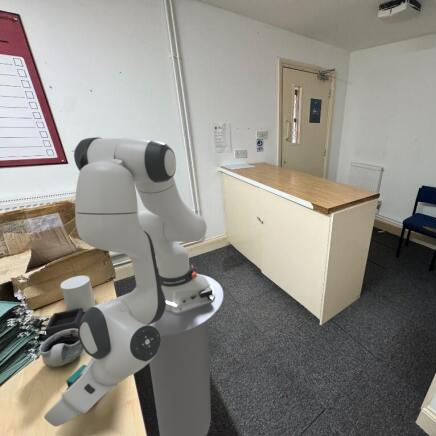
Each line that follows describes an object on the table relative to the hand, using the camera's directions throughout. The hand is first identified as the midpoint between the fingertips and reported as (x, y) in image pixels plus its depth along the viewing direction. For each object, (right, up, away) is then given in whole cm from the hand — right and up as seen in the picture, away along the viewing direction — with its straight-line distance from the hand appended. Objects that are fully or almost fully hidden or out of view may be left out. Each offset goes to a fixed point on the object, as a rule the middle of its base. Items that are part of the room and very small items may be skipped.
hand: (83, 384), depth 61 cm
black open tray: (-25, +5, +21) cm, 33 cm away
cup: (-27, +8, +30) cm, 42 cm away
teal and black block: (0, -5, +2) cm, 5 cm away
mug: (-14, 0, +10) cm, 17 cm away
